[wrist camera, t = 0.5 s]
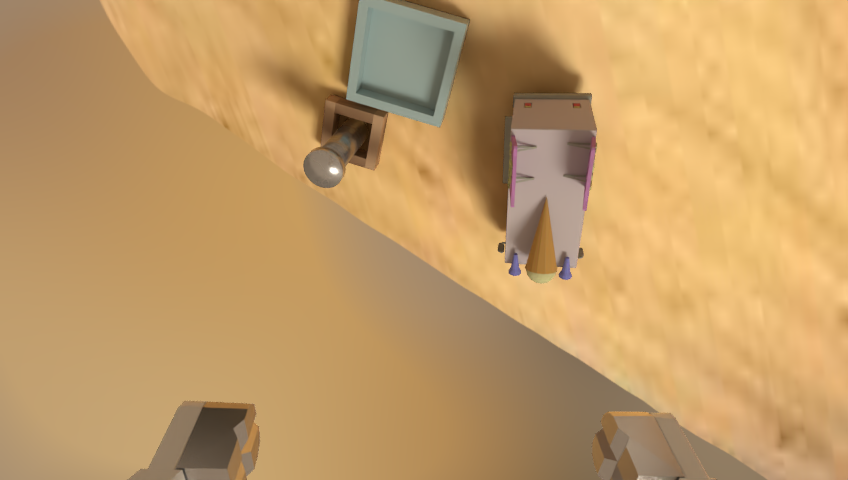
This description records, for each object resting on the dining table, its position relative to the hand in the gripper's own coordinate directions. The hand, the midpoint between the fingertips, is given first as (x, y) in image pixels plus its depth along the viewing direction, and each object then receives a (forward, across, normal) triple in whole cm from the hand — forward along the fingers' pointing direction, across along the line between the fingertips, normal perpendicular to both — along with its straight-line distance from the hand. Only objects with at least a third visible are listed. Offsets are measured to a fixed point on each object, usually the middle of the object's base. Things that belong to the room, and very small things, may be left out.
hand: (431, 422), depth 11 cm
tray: (+48, +1, +2) cm, 48 cm away
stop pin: (+50, +6, +11) cm, 51 cm away
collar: (+50, +6, +11) cm, 51 cm away
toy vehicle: (+45, -16, +13) cm, 49 cm away
